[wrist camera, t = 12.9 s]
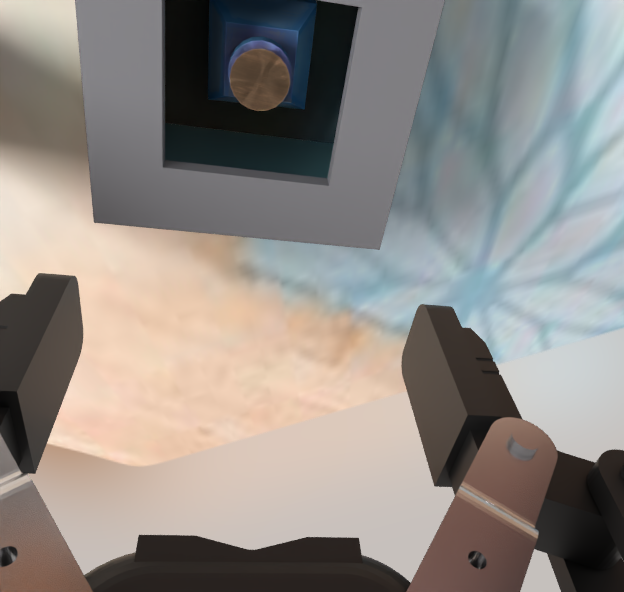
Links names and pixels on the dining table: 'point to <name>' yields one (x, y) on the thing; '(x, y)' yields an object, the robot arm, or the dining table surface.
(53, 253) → the dining table surface
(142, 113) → the box
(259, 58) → the perfume bottle
